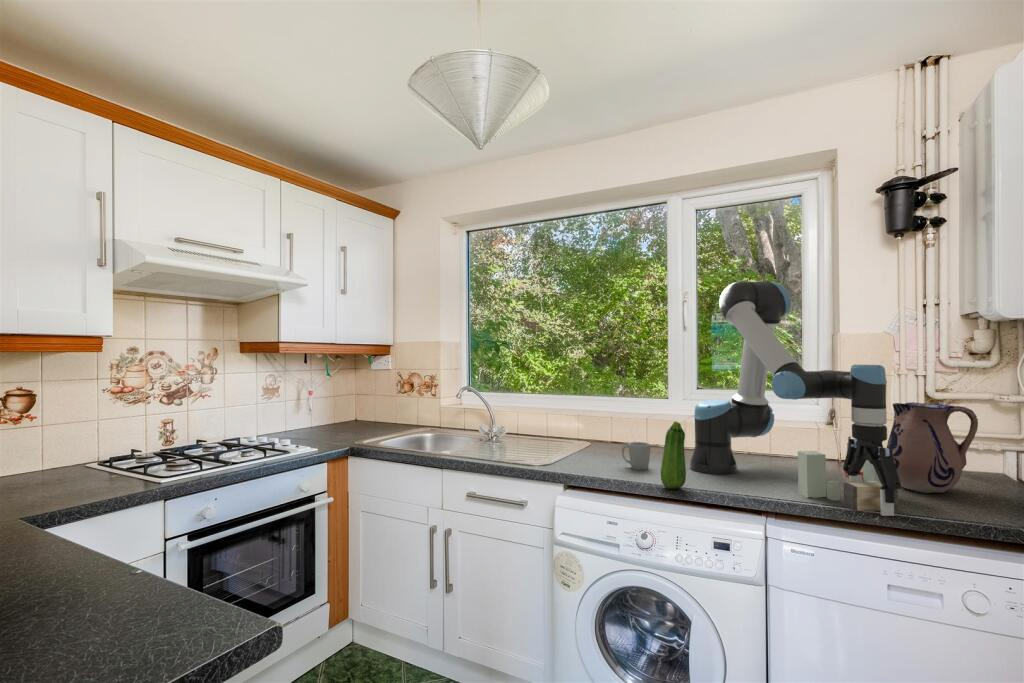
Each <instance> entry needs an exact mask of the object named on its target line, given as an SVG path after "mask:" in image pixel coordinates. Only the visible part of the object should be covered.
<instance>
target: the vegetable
mask: <svg viewBox="0 0 1024 683" xmlns="http://www.w3.org/2000/svg"><path fill="white" fill-rule="evenodd" d="M685 439H686V433H685V431H684V429H683V427H682V424H681V423H680V422H678V421H675V420H674V422H672V425H671V426H670V427H669V428H668V429H667V430H666V433H665V440H664V446H663V447H664V448H663V453H662V460H661V467H660V480H661V483H662V486H664V487H665V488H666V489H669V490H674V489H675V490H676V489H680V488H682V487H683V486H684V485H685V483H686V478H687V470H686V456H685Z"/></svg>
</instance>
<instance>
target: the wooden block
mask: <svg viewBox="0 0 1024 683" xmlns="http://www.w3.org/2000/svg"><path fill="white" fill-rule="evenodd" d="M886 484H887V483H886ZM881 487H882V484H881V483H863V482H862V483H849V482H843V506H844V505H845V506H844V507H846V506H847V507H846V508H847V509H850V510H852V511H866V512H867V511H870V512H871V511H875V510H876V511H878V510H881V505H880V488H881ZM898 490H899V489H896V490H894V510H898V511H899V505H898V504H899V501H898V498H899V497H898ZM876 511H875V512H876Z"/></svg>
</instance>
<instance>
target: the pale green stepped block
mask: <svg viewBox="0 0 1024 683" xmlns="http://www.w3.org/2000/svg"><path fill="white" fill-rule="evenodd" d="M826 463H827V462H826V454H825V453H822V452H820V451H816V450H797V480H798V481H797V483H798V484H797V487H798V488H797V491H798V492H799V493H800V495H801V494H802V495H801V496H803V495H804V496H803V497H805V496H806V497H805V498H807V497H826V499H827V498H828V499H827V500H829V499H832V500H831V501H840V500H841V499H840V498H841V496H840V495H841V494H840V493H841V492H840V481H838V480H827V471H826V470H827V469H826V467H827V466H826ZM798 492H797V493H798ZM799 493H798V494H799ZM834 499H835V500H834Z"/></svg>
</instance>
